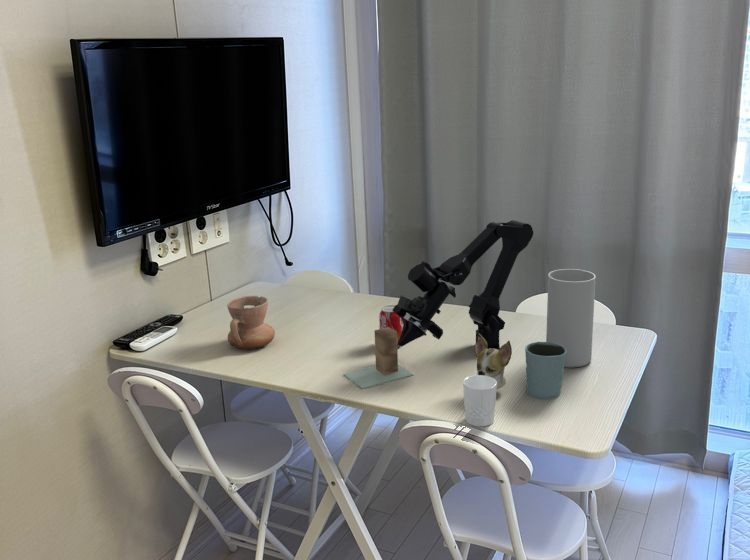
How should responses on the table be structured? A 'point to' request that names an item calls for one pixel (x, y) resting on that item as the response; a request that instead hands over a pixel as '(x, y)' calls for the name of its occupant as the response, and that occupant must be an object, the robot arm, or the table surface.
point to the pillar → (386, 351)
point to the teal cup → (544, 369)
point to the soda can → (391, 320)
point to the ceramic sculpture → (492, 360)
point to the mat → (375, 376)
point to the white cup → (479, 399)
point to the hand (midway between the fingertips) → (399, 345)
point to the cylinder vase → (571, 314)
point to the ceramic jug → (249, 323)
